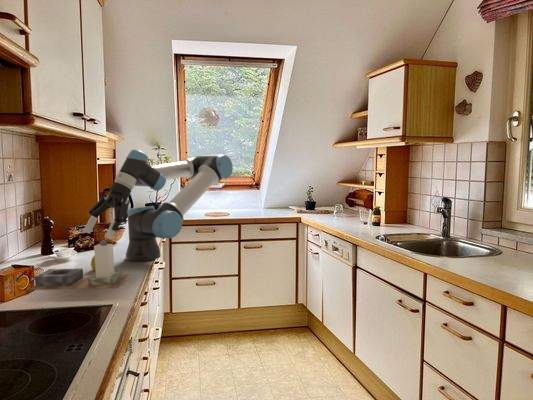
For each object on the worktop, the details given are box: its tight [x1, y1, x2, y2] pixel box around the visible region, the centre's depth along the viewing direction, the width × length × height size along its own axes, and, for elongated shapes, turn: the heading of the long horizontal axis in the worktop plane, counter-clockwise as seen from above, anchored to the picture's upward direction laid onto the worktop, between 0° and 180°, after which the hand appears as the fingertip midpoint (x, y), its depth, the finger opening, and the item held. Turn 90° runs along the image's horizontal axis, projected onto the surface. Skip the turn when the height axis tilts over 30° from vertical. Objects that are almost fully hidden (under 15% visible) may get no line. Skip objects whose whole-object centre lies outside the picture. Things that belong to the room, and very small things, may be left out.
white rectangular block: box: [93, 239, 115, 278], centre depth 148 cm, size 5×4×14 cm
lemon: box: [90, 255, 96, 272], centre depth 164 cm, size 6×6×8 cm
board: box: [27, 267, 133, 294], centre depth 148 cm, size 30×16×5 cm, turn 90°
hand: (96, 235), depth 159 cm, fingers open, 13 cm apart
